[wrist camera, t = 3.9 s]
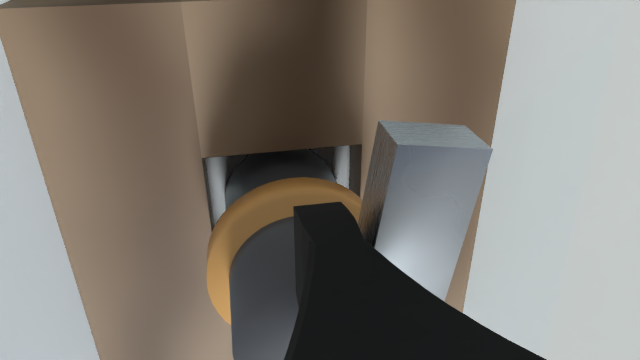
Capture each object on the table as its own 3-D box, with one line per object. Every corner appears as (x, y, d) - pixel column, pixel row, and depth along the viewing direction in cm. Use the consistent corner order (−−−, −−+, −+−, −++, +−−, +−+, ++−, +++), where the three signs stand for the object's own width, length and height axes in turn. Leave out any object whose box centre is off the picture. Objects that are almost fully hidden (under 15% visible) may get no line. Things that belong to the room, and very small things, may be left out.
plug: (215, 262, 19) (218, 429, 13) (198, 135, 16) (191, 268, 10) (350, 246, 20) (411, 396, 14) (353, 122, 17) (430, 240, 11)
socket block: (117, 363, 20) (72, 581, 14) (12, -1, 14) (-174, 85, 7) (443, 314, 22) (539, 482, 16) (492, -18, 16) (692, 35, 9)
